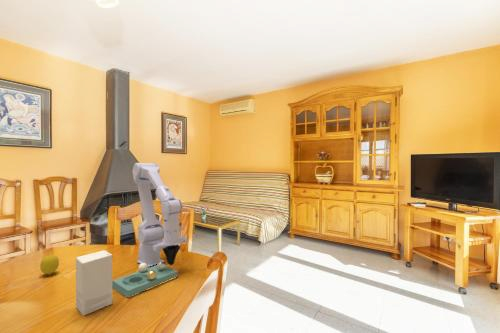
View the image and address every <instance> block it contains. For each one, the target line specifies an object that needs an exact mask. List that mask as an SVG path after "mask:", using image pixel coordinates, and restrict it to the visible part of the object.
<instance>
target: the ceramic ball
mask: <svg viewBox="0 0 500 333" xmlns="http://www.w3.org/2000/svg"><path fill="white" fill-rule="evenodd" d="M147 268H149V267H148V265H147V264H146V263H141V264H140V263H139V265H138V271H141V272H144V271H146V270H147Z"/></svg>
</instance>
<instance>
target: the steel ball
mask: <svg viewBox="0 0 500 333" xmlns="http://www.w3.org/2000/svg"><path fill="white" fill-rule="evenodd" d="M166 266H167V265H166V262H165V261H164V262H159V263H158V264H157V269H158V270H160V271H161V270H164V269H165V267H166Z"/></svg>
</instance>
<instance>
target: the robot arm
mask: <svg viewBox="0 0 500 333" xmlns="http://www.w3.org/2000/svg"><path fill="white" fill-rule="evenodd" d="M132 178H133V181H134V184H136V186H137V190H138V196H139V202H140V207H141V214H142V219H143V221H142V222H141V223H140V225H139V226H138V229H137V230H138V233H137V237H138V238H137V239H138V241H139V245H138V260H136V263H138V264H139V265H140V264H141V263H146V264H147V265H148V268H150V266H151V267H153V265H154V266H156V264H158V263H159V262H164V263H165V260H164V259H162V258H161V250H162V251H163V253H164V255H165V257H166V261H167V264H168V266H173V265H174V264H175V260H176V257H177V255H178V252H179V251H180V249H181V246H180V245H179V244H182V243H188V237H186V236H181V237H179V236H180V234H179V233H180V231H179V229H180V213H181V212H182V211H183V203H182V201H181V199H179V198H177V197H175V195H174V194H173V193H172V191H171V189H170V187H169V186H167V185H165V184H164V182H163V180H162V177H161V175H160V166H159V165H158V163H156V162H154V163H152V162H151V163H150V162H145V163H143V162H135V163H134V165H133V167H132ZM151 185H153V187H154V188H155V196H156V198H157V200H158V201H159V203H160V205H161V207H160V211H161V214H162V215H161V216H162V220H163V221H161V220H159V219H157V216H156V213H155V212H156V211H155V206H154V201H153V196H152V192H151Z"/></svg>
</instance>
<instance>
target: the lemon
mask: <svg viewBox="0 0 500 333" xmlns="http://www.w3.org/2000/svg"><path fill="white" fill-rule="evenodd" d="M59 266H60V261H59V258H58V256H57V255H55V254H52V253H49V254H48V255H45V256H44V257H43V258H42V259H41V261H40V265H39V268H40V271H41V272H42V273H43V274H46V275H52V274H53V273H54V272H56V270H58V268H59Z"/></svg>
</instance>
